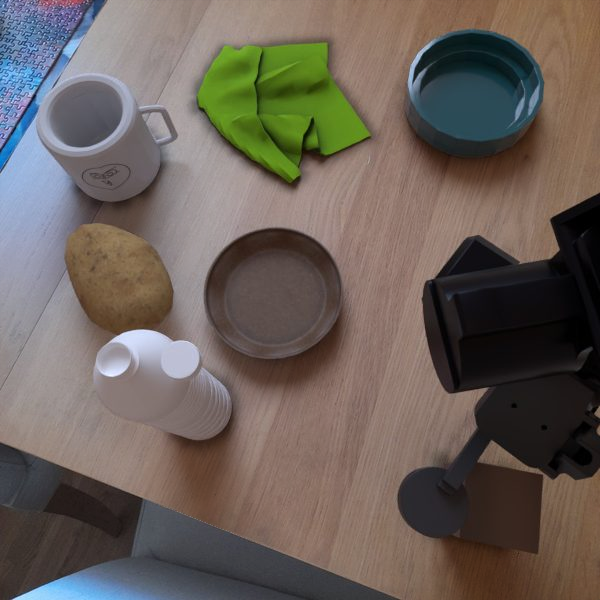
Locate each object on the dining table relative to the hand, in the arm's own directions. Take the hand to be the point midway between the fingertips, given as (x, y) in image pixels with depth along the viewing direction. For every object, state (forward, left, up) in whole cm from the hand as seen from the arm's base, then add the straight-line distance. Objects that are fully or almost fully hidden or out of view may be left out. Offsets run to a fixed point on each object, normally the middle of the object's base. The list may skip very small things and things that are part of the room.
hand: (522, 370), depth 45 cm
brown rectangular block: (0, +11, -13) cm, 17 cm away
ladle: (+3, +6, -1) cm, 7 cm away
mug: (+44, -20, -13) cm, 50 cm away
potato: (+39, -4, -13) cm, 41 cm away
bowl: (+5, -34, -13) cm, 37 cm away
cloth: (+27, -30, -13) cm, 43 cm away
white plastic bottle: (+27, +7, -13) cm, 31 cm away
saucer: (+23, -6, -13) cm, 27 cm away
